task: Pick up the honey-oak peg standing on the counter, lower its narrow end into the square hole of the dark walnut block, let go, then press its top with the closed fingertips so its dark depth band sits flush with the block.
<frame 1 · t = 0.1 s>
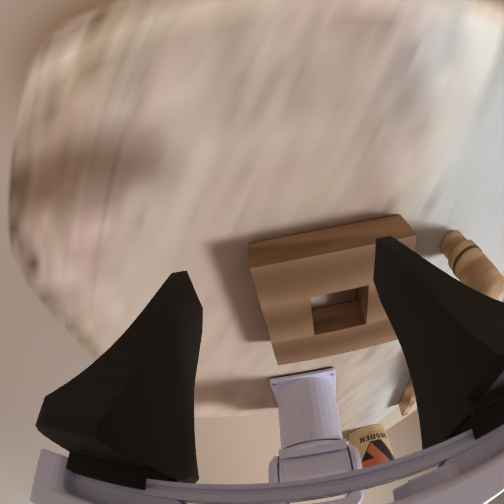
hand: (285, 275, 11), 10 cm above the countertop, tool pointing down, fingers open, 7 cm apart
peg: (451, 242, 22), on the countertop
walnut block: (332, 287, 25), on the countertop
coffee cup: (365, 430, 49), on the countertop
chock rails: (441, 363, 35), on the countertop
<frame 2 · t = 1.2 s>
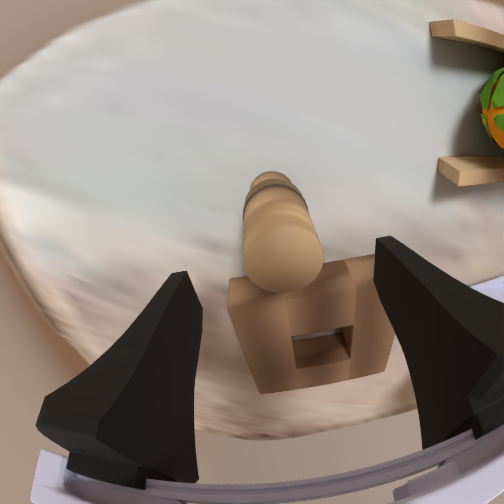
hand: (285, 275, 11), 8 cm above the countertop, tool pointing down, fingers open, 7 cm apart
peg: (271, 191, 17), on the countertop
walnut block: (317, 320, 24), on the countertop
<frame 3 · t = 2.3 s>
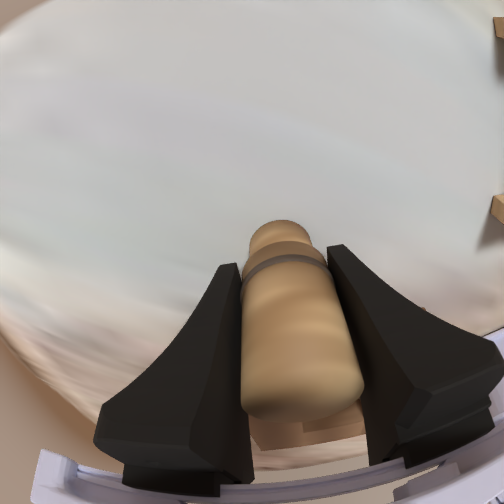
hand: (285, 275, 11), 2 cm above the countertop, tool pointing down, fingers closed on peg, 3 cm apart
peg: (280, 246, 13), on the countertop, touching gripper
walnut block: (329, 380, 19), on the countertop
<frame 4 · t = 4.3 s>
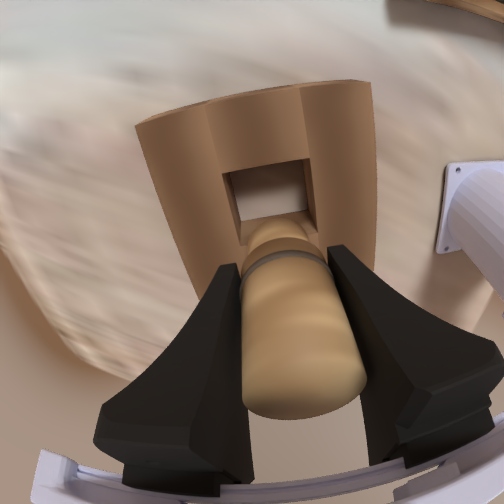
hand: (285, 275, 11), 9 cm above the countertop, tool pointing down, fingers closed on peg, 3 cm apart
peg: (278, 245, 13), point 7 cm above the countertop, touching gripper
walnut block: (269, 184, 18), on the countertop
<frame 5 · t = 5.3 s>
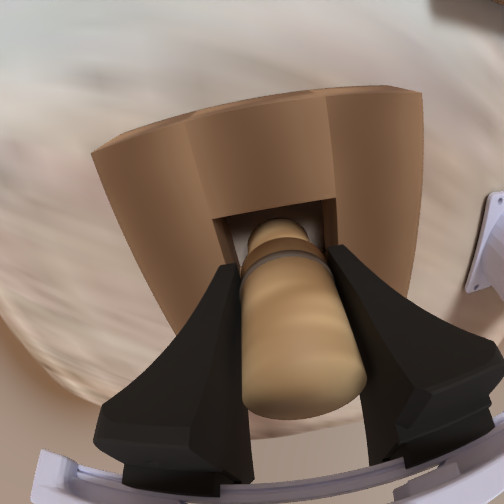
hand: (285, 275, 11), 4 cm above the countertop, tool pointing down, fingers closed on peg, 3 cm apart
peg: (278, 245, 13), point 2 cm above the countertop, touching gripper
walnut block: (276, 221, 14), on the countertop
when the fingers open (4 cm above the countertop, at t = 6.2 s): peg drops 2 cm, resting in walnut block.
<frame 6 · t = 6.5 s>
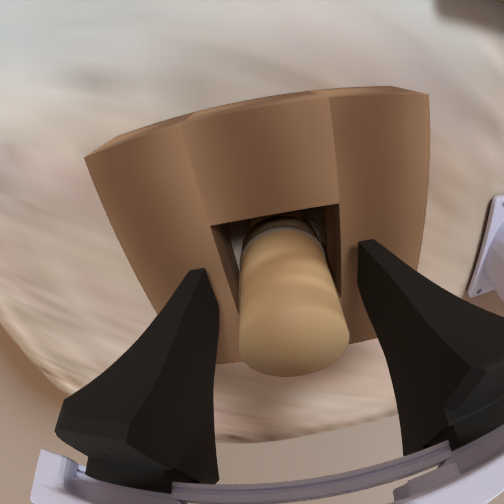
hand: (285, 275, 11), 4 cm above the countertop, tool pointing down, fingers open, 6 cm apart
peg: (277, 225, 14), resting in walnut block
walnut block: (276, 226, 14), on the countertop
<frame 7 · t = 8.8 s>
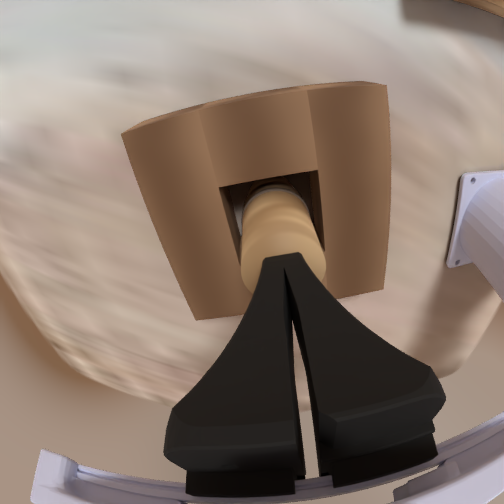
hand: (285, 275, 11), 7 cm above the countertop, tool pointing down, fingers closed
peg: (271, 195, 17), resting in walnut block
walnut block: (271, 196, 17), on the countertop
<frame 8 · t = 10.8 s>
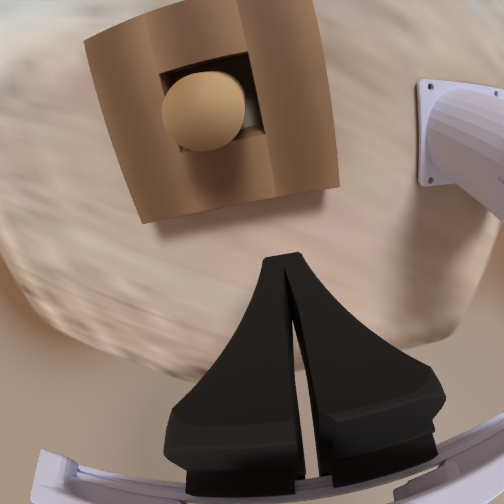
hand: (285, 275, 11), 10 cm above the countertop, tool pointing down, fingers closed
peg: (217, 96, 16), resting in walnut block
walnut block: (217, 97, 16), on the countertop
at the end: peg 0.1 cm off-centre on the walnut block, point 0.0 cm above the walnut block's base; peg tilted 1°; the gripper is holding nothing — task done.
